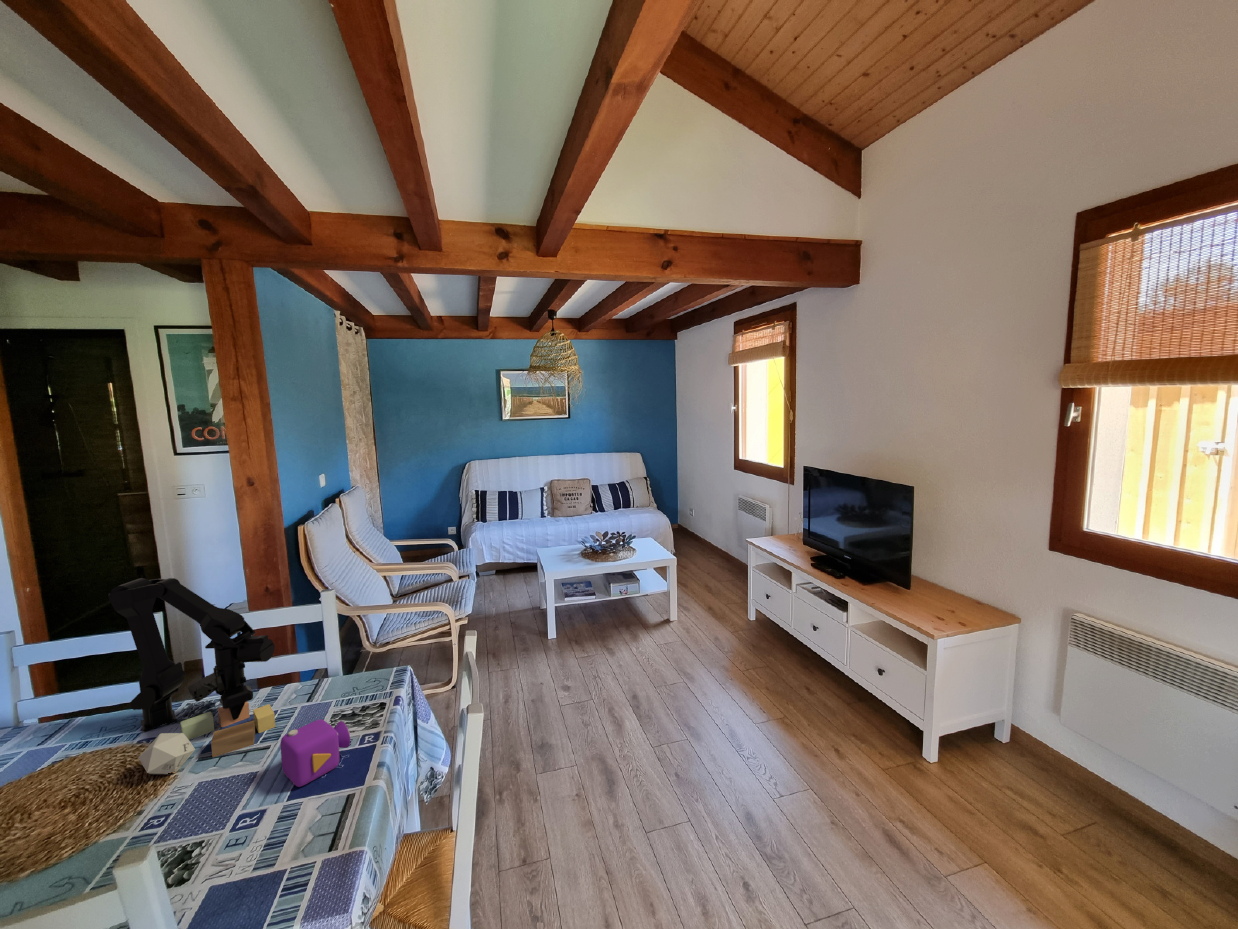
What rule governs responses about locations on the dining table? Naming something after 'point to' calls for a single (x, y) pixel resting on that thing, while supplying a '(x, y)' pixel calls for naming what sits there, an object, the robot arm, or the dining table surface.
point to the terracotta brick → (226, 716)
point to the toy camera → (312, 750)
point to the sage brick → (197, 725)
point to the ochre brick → (264, 718)
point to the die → (166, 753)
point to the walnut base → (233, 738)
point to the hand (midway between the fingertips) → (234, 716)
